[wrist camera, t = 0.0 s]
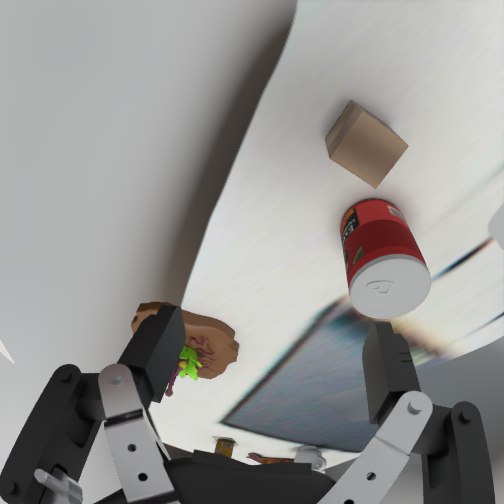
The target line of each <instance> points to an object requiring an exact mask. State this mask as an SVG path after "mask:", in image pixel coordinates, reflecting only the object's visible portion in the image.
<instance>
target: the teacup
mask: <svg viewBox="0 0 504 504" xmlns="http://www.w3.org/2000/svg"><path fill="white" fill-rule="evenodd" d="M317 449H318V447H316V446H303V447H301V451H299V452H297V454H296V456H295V459H294V462H298V463H312V470H315V471H318V472H321V473H323V474H324V473H325V471H324V469H325V467H326V460H325V459H324V458H322V454H321V452H319V451H318V450H317Z"/></svg>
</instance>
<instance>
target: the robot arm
mask: <svg viewBox="0 0 504 504" xmlns="http://www.w3.org/2000/svg"><path fill="white" fill-rule="evenodd" d="M185 340H186V330H185V325H184V320H183V315H182V310H181V307H180V306H175V305H167V304H162V305H161V307H160V308H159V310H158V312H157V314H156V315H154V314H150V315H149V316H148V317H146V318H145V319H144V320H143V321H142V322H141V323H140V325H139V327H138V328H137V331H136V332H135V333H134V335H133V338H132V339H131V340H130V342H129V343H128V345H127V347H126V348H125V350H124V352H123V354H122V355H121V357H120V359H119V360H118V362H117V364H112V365H109V366H107V367H105V368H104V369H103V370H102V371H101V372H100V373H81V371H80V369H79V368H78V367H77V366H75V365H72V364H66V365H63V366H61V367H59V368H58V369H57V370H56V371H55V372H54V374H53V375H52V377H51V378H50V380H49V382H48V384H47V385H46V387H45V389H44V390H43V392H42V394H41V395H40V397H39V399H38V401H37V402H36V404H35V406H34V408H33V410H32V412H31V413H30V415H29V417H28V419H27V421H26V423H25V425H24V427H23V428H22V431H21V432H20V434H19V436H18V438H17V440H16V442H15V445H14V446H13V448H12V451H11V453H10V455H9V457H8V459H7V461H6V463H5V466H4V468H3V470H2V472H1V475H0V496H1V498H2V499H3V500H4V501H5V502H7V503H8V504H81V503H82V501H83V497H82V489H81V487H80V485H79V484H78V481H79V478H80V476H81V473H82V470H83V468H84V465H85V462H86V460H87V457H88V455H89V452H90V450H91V447H92V445H93V442H94V440H95V437H96V435H97V433H98V430H99V428H100V425H101V423H102V421H103V420H107V421H106V422H104V427H105V432H106V436H107V440H108V443H109V447H110V450H111V454H112V457H113V460H114V464H115V467H116V470H117V473H118V476H119V479H120V482H121V485H122V489H120V490H118V491H116V492H115V493H113V494H111V495H109V496H107V497H105V498H103V499H102V500H100V501H98V502H96V503H94V504H378V503H379V502H380V501H381V499H382V498H383V497H384V495H385V494H386V493H387V491H388V490H389V488H390V487H391V485H392V484H393V482H394V481H395V480H396V478H397V477H398V475H399V474H400V472H401V471H402V469H403V468H404V466H405V464H406V463H407V461H408V459H409V453H410V452H413V453H419V454H421V458H422V471H423V496H424V504H495V494H494V485H493V478H492V471H491V464H490V458H489V453H488V447H487V442H486V437H485V433H484V428H483V425H482V420H481V416H480V412H479V410H478V409H477V407H476V406H475V405H473V404H472V403H470V402H466V401H463V402H459V403H457V404H456V405H455V406H454V407H453V408H447V407H442V406H437V405H434V404H432V402H431V400H430V399H429V398H428V397H427V396H426V395H425V394H424V393H421V390H420V386H419V382H418V378H417V374H416V371H415V367H414V364H413V362H412V361H413V360H412V357H411V354H410V350H409V346H408V343H407V342H406V340H405V339H404V338H403V337H402V335H401V334H394V333H393V329H392V326H391V323H390V322H385V321H372V323H371V325H370V328H369V331H368V334H367V338H366V341H365V344H364V347H363V352H362V361H363V368H364V376H365V383H366V392H367V400H368V409H369V418H370V424H378V425H379V431H378V432H377V433H376V435H375V436H374V437H373V439H372V440H371V441H370V443H369V444H368V445H367V447H366V448H365V449H364V451H363V452H362V453H361V454H360V456H359V457H358V458H357V459H356V461H355V462H354V463H353V464H352V466H351V467H350V468H349V469H348V470H347V471H346V473H345V474H344V475H343V476H342V477H341V478H340V480H339V481H338V482H336V481H335V480H333V479H332V478H330V477H329V476H327V475H325V474H323V473H321V472H318V471H315V470H312V463H298V462H277V463H269V464H261V465H248V464H245V463H243V462H240V461H237V460H235V459H232V458H230V457H227V456H225V455H222V454H216V453H210V452H205V451H200V450H195V449H194V452H193V455H192V456H184V457H179V458H174V459H172V460H171V459H170V457H169V455H168V453H167V451H166V449H165V447H164V445H163V443H162V441H161V438H160V436H159V433H158V431H157V428H156V426H155V423H154V421H153V418H152V416H151V413H150V410H149V405H150V403H151V401H153V402H157V403H160V402H161V400H162V397H163V395H164V392H165V390H166V388H167V385H168V383H169V380H170V378H171V376H172V373H173V371H174V368H175V366H176V364H177V361H178V359H179V357H180V354H181V352H182V350H183V347H184V345H185Z"/></svg>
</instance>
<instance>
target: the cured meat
mask: <svg viewBox="0 0 504 504" xmlns="http://www.w3.org/2000/svg"><path fill="white" fill-rule="evenodd" d="M249 456H250V457H246V458H251V459H253V460H255V461H257V462H259V463H261V464H269V463H277V462H294V460H291V459H276V458H264V457H262V460H261V459H260V458H259V456H257V455H256V454H254V453H251V454H249Z"/></svg>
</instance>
